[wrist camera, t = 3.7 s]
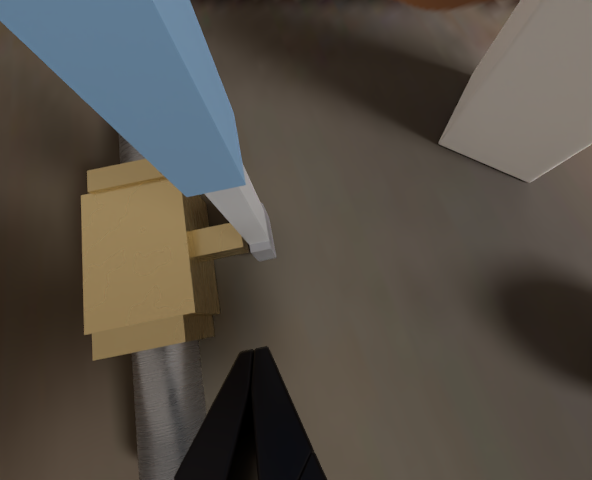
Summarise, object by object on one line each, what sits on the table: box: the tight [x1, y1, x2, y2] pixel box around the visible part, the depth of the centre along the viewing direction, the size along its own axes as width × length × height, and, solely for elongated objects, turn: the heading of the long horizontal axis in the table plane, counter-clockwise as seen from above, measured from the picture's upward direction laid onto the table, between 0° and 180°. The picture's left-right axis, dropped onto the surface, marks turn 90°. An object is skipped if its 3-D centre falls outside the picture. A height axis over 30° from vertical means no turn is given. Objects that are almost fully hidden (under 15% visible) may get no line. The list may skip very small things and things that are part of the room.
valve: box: [81, 133, 249, 480], centre depth 17 cm, size 22×8×4 cm, turn 11°
